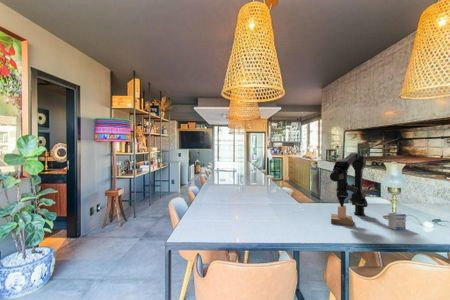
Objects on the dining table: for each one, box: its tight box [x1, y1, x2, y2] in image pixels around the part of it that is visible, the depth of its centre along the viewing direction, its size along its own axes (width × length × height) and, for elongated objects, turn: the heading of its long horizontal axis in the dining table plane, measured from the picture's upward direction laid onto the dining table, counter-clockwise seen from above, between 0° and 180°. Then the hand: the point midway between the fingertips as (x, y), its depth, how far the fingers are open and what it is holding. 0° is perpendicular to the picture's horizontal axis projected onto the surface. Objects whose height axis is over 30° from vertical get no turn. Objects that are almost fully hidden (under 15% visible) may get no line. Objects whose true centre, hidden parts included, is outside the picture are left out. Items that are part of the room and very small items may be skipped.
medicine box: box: [387, 212, 407, 231], centre depth 141 cm, size 8×4×9 cm, turn 105°
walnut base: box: [330, 213, 354, 227], centre depth 152 cm, size 12×12×3 cm
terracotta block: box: [337, 204, 347, 219], centre depth 152 cm, size 4×4×7 cm
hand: (341, 205), depth 152 cm, fingers open, 9 cm apart
